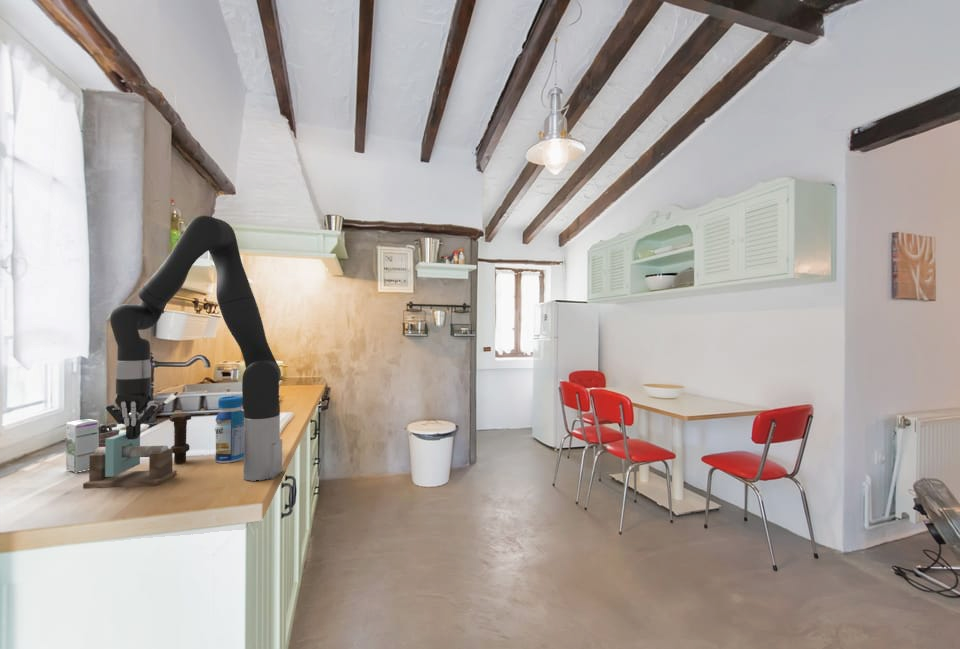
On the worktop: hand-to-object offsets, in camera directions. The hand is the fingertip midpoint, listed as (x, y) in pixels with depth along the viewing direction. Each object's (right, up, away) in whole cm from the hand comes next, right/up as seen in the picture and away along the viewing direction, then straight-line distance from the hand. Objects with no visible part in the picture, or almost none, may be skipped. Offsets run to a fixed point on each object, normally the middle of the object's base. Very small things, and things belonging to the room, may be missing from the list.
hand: (133, 438), depth 117 cm
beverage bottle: (+16, -12, +19) cm, 27 cm away
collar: (-3, -9, 0) cm, 9 cm away
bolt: (+2, -12, +15) cm, 20 cm away
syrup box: (-22, -12, +9) cm, 27 cm away
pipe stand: (0, -12, 0) cm, 12 cm away
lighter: (-29, -12, +23) cm, 39 cm away
